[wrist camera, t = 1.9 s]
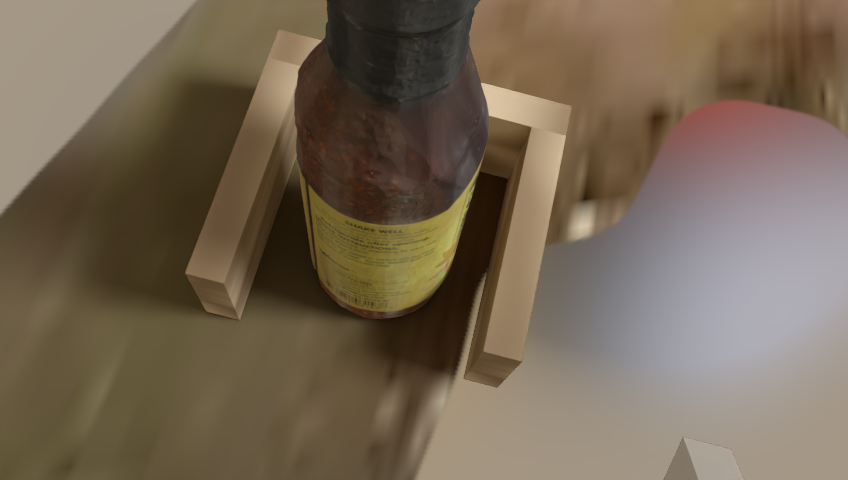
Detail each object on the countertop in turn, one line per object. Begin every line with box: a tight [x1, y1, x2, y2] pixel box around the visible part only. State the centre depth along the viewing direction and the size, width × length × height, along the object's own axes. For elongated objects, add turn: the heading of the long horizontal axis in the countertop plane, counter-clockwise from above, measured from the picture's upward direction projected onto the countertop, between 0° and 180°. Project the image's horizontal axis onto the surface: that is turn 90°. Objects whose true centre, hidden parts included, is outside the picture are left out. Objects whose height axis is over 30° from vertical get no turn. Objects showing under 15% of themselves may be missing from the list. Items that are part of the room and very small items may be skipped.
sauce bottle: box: [294, 0, 489, 319], centre depth 26 cm, size 6×6×20 cm
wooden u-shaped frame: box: [185, 30, 572, 387], centre depth 34 cm, size 13×12×5 cm
